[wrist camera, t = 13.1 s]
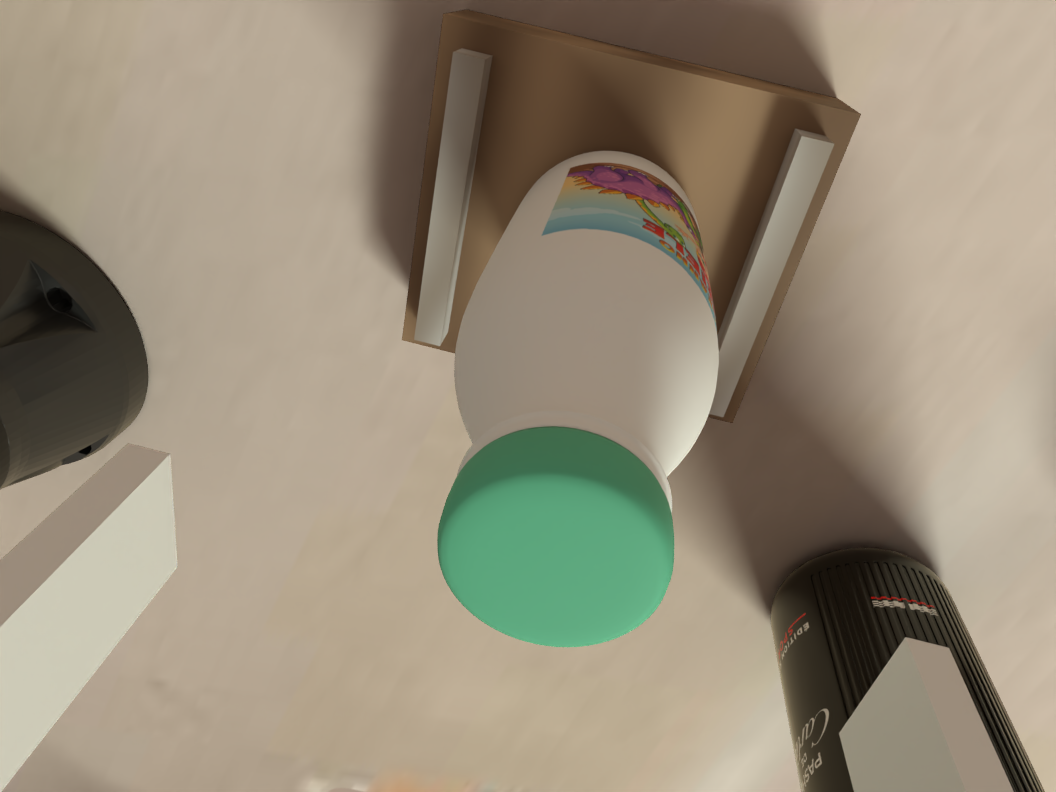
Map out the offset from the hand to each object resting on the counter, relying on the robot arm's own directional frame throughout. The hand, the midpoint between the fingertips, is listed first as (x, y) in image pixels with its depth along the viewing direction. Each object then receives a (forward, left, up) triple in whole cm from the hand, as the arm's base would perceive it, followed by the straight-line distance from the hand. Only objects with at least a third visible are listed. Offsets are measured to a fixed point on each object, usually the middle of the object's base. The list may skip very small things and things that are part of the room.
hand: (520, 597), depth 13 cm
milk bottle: (0, 0, -21) cm, 21 cm away
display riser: (0, 0, -25) cm, 25 cm away
